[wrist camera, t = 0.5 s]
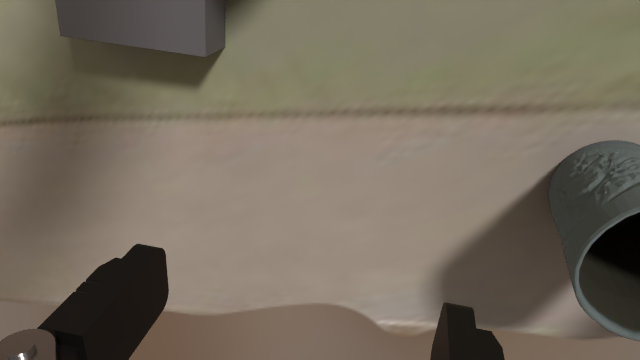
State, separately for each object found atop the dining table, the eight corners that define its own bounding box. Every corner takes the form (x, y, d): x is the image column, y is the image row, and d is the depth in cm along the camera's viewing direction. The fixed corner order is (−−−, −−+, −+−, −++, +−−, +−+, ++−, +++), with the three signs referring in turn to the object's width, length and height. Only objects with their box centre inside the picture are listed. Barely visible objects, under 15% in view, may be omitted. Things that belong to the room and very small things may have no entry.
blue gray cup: (664, 239, 40) (752, 346, 29) (532, 243, 42) (570, 343, 31) (681, 123, 35) (792, 198, 25) (535, 135, 38) (579, 208, 27)
